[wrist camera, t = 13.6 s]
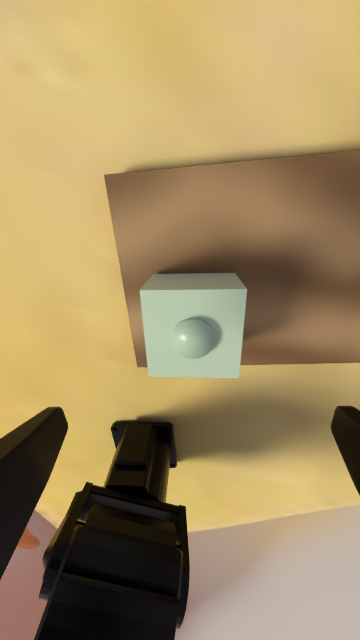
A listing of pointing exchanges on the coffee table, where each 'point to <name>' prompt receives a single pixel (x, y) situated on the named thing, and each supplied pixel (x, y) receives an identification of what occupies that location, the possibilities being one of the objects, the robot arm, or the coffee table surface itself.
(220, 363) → the pale green knobbed block
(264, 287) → the board
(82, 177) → the coffee table surface
